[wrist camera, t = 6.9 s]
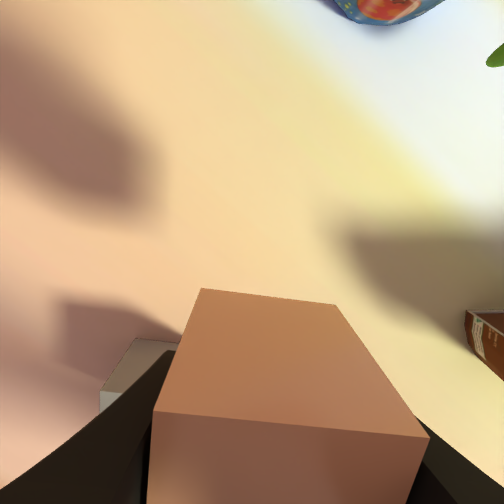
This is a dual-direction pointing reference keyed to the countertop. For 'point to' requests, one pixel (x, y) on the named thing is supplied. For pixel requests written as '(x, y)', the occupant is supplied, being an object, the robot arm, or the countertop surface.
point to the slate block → (132, 368)
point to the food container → (487, 337)
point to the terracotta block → (278, 411)
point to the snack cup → (399, 16)
